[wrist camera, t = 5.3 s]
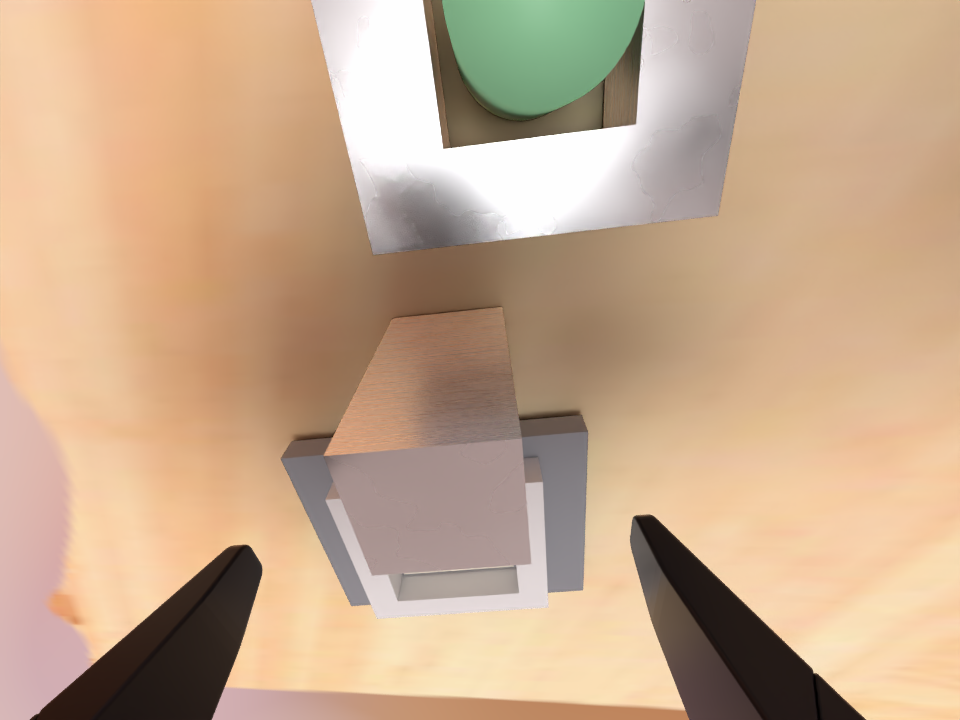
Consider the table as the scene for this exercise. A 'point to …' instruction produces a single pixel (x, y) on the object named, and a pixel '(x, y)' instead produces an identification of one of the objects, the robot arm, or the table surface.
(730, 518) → the table surface
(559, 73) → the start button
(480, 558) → the block
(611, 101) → the square peg board
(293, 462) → the grey slotted socket base
